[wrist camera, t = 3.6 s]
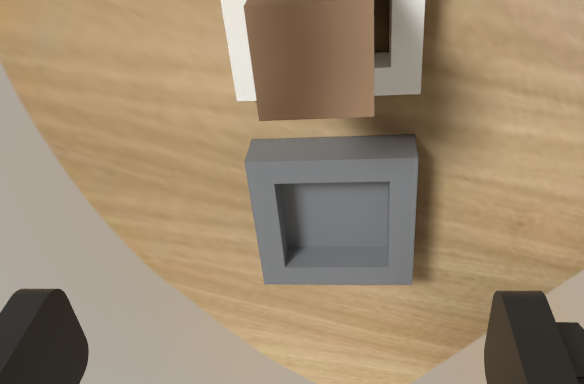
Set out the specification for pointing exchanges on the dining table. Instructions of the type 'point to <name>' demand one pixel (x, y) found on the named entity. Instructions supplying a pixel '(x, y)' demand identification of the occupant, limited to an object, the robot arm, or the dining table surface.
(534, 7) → the dining table surface
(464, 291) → the dining table surface
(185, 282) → the dining table surface
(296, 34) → the walnut block
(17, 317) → the robot arm
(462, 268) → the dining table surface
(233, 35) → the white pocket frame
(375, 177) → the gray pocket tray
